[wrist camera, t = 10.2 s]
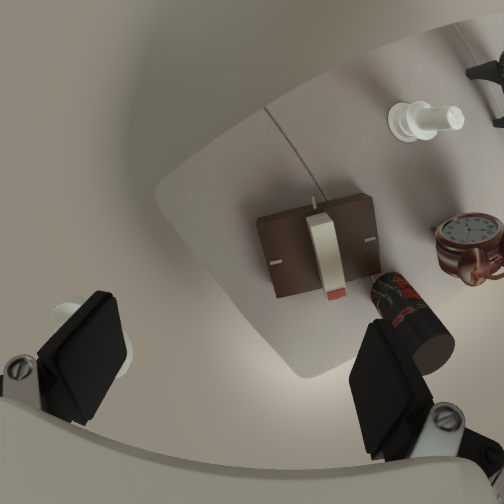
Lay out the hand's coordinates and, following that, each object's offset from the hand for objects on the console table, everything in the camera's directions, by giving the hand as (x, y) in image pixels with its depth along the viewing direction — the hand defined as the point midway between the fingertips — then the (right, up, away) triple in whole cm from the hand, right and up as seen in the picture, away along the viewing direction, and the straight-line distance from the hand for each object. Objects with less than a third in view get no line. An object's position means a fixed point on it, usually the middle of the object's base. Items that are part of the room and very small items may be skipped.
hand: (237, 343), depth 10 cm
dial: (+9, +3, +23) cm, 25 cm away
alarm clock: (+29, +6, +24) cm, 38 cm away
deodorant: (+21, -2, +28) cm, 35 cm away
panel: (+9, +4, +26) cm, 28 cm away
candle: (+20, +20, +20) cm, 34 cm away
